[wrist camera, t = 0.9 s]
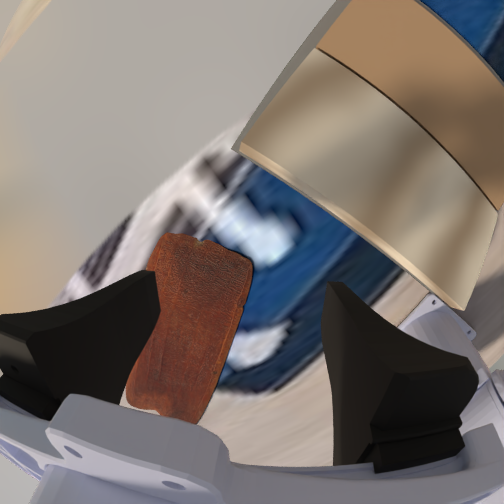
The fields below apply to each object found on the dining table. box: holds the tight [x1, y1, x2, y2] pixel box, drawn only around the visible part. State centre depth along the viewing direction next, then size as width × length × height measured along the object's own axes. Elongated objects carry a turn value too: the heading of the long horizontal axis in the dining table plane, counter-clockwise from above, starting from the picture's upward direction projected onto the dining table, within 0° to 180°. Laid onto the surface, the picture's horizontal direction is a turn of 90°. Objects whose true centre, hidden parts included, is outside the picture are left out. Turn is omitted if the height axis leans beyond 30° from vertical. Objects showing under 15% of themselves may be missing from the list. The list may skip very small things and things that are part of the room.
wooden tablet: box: [126, 233, 253, 424], centre depth 28 cm, size 27×10×2 cm, turn 160°
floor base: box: [231, 0, 504, 294], centre depth 16 cm, size 20×19×2 cm
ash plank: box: [239, 48, 498, 310], centre depth 16 cm, size 18×8×2 cm, turn 58°
